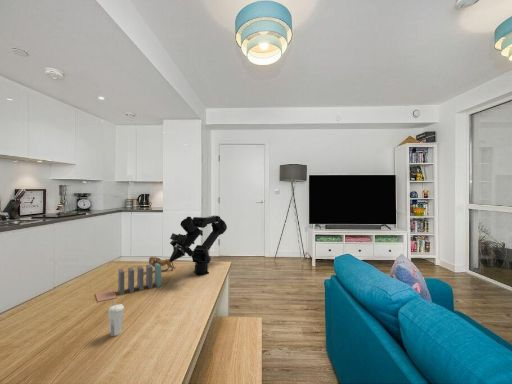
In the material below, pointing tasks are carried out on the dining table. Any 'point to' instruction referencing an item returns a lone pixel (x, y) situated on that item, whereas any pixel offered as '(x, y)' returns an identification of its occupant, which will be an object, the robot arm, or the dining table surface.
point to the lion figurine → (161, 262)
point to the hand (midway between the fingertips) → (169, 261)
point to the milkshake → (115, 319)
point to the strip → (105, 295)
